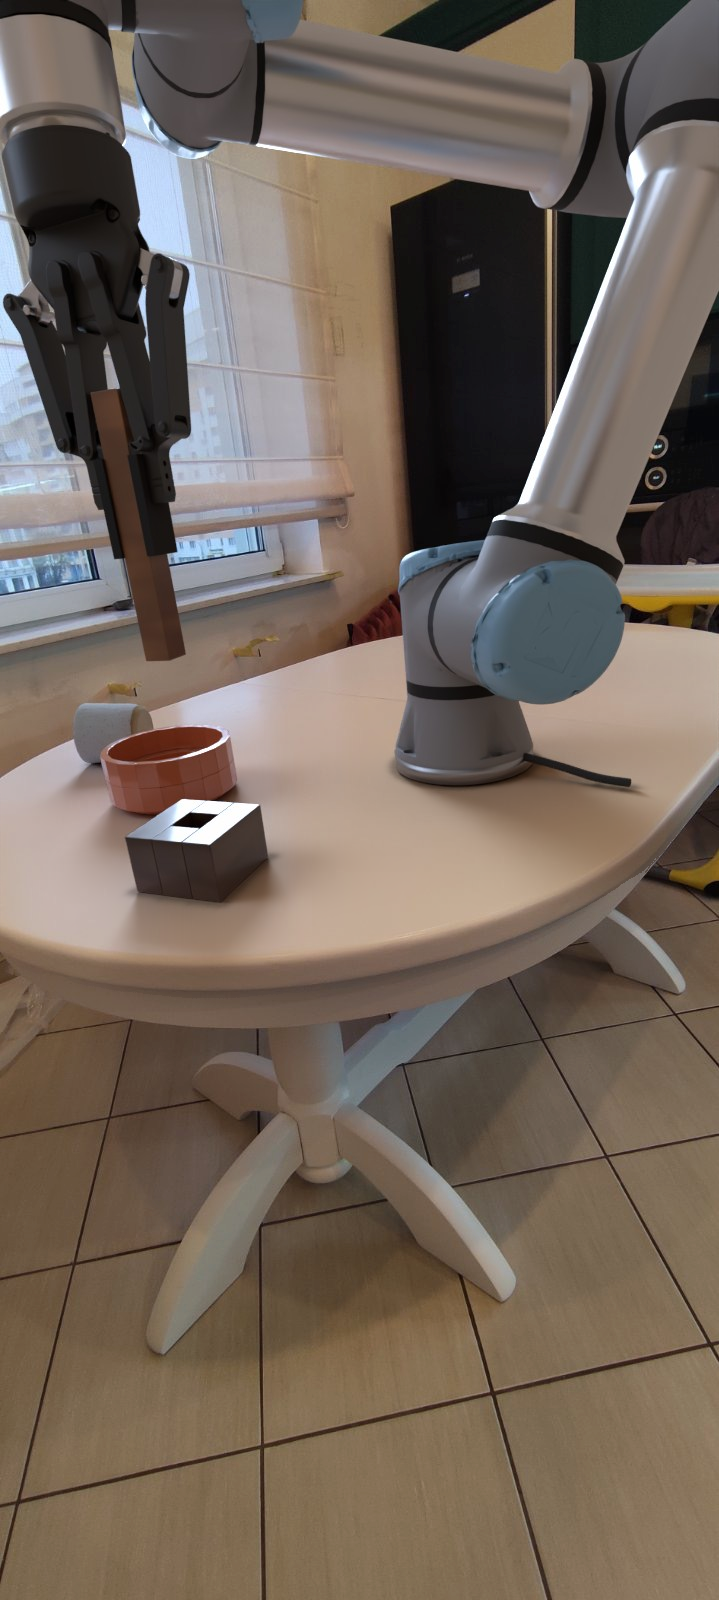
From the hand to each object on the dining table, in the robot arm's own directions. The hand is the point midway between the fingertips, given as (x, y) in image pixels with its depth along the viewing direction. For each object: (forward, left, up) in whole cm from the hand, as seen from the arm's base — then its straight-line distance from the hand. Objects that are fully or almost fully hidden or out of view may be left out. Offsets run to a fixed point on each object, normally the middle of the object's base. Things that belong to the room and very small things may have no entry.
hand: (146, 555), depth 53 cm
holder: (0, +1, -26) cm, 26 cm away
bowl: (+14, -15, -26) cm, 33 cm away
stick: (0, 0, -7) cm, 7 cm away
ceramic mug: (+30, -26, -26) cm, 47 cm away
